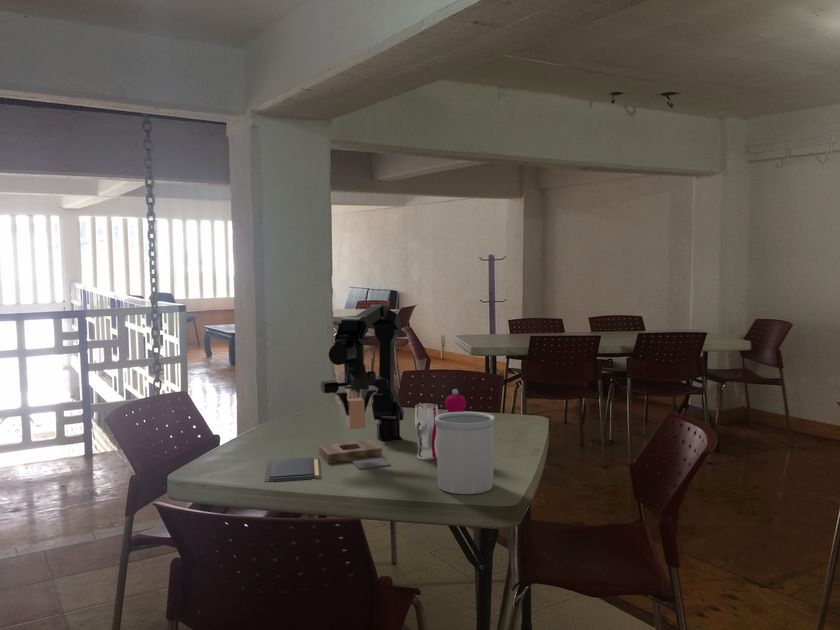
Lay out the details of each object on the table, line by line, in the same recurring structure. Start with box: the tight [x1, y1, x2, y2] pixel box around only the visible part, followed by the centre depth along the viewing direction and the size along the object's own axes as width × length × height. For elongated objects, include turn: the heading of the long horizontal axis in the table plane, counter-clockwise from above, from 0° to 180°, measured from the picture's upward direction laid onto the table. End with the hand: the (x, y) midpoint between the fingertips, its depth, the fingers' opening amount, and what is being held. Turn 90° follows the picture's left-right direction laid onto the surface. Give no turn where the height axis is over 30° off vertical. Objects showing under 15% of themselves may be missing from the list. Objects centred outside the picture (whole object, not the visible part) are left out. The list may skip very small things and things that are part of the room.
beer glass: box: [413, 403, 439, 461], centre depth 201 cm, size 7×7×15 cm
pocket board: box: [318, 439, 383, 464], centre depth 204 cm, size 16×11×3 cm
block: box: [345, 397, 366, 430], centre depth 200 cm, size 4×4×8 cm
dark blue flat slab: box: [264, 457, 322, 483], centre depth 191 cm, size 20×2×15 cm
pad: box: [350, 456, 391, 470], centre depth 196 cm, size 9×9×1 cm
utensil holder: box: [435, 411, 496, 495], centre depth 173 cm, size 15×15×18 cm
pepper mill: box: [444, 388, 467, 413], centre depth 198 cm, size 7×7×20 cm
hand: (355, 414), depth 200 cm, fingers closed on block, 4 cm apart
